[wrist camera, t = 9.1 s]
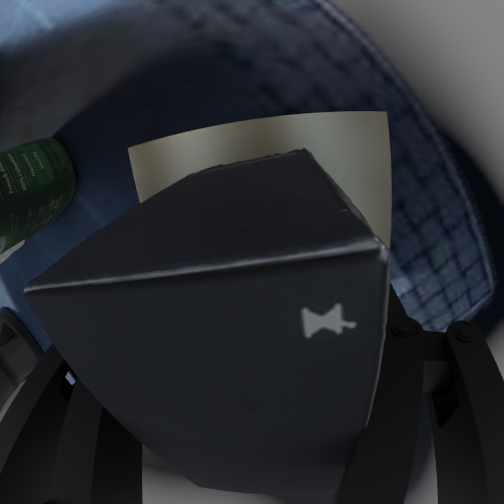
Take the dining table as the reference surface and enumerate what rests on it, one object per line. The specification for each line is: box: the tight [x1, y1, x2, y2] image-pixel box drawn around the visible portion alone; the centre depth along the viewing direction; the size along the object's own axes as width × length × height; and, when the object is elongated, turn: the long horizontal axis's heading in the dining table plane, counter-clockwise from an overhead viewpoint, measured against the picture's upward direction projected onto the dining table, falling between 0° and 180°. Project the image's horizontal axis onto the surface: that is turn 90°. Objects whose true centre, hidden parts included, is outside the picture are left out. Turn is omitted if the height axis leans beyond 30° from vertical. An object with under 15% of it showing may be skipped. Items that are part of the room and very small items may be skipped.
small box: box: [24, 148, 391, 495], centre depth 10 cm, size 11×6×10 cm, turn 12°
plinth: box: [128, 111, 392, 250], centre depth 18 cm, size 14×14×6 cm
